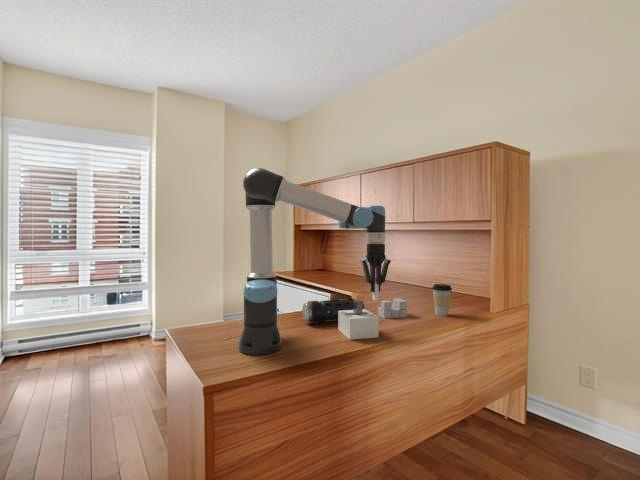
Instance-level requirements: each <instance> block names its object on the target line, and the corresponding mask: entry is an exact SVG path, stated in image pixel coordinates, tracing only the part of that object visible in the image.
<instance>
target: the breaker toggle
mask: <svg viewBox="0 0 640 480" xmlns="http://www.w3.org/2000/svg"><path fill="white" fill-rule="evenodd" d="M351 299H353V312H355V313H356V314H362V301H363V302H364V301H365V295H364V294H362V293H360V292H352V293H351Z"/></svg>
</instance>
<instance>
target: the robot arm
mask: <svg viewBox="0 0 640 480" xmlns="http://www.w3.org/2000/svg"><path fill="white" fill-rule="evenodd" d="M242 184H243V185H242V186H243V190H244V193H245V208H246V209H247V210H248V211H249V241H250V242H249V246H250V247H249V249H250V251H249V252H250V272H249V273H248V274H247V275H246V283H245V284H244V287H243V292H242V294H243V328H242V331H241V334H240V338H239V340H238V350H239V352H241V353H242V354H245V355H252V356H258V355H259V356H261V355H268V354H272V353H276V352H279V350H281V349H282V347H283V341H282V336H281V333H280V331H279V327H278V291H279V290H278V285H277V281H278V280H277V274H276V273H275V272H274V271H273V210H274V209H275V208H276V203H278V202H282V203H285V204H287V205H291V206H293V207H297V208H300V209H302V210H306V211H308V212H311V213H314V214H316V215H320V216H323V217H325V218H329V219H332V220H334V221H337V224H338V227H339V228H340V229H344V230H345V229H346V230H348V229H350V230H351V229H355V230H356V229H360V230H361V229H362V230H364V229H366V243H367V244H366V254H365V258H363V259H361V260H360V263H361V265H362V268H363V273H364V278H365V282H366V283H368V284H370V292H371V293H372V294H371V295H372V297H371V298H372V300H373V301H379V295H380V294H379V293H380V292H381V285H383V283H385V282H386V278H387V274H388V269H389V266H390V264H391V261H392V260H391V259H388V258H387V257H386V254H385V253H386V244H385V242H386V208H385V206H383V205H368V206H367V207H365V206H358V205H355V204H352V203H349V202H347V201H345V200H341V199H338V198H335V197H333V196H331V195H328V194H324V193H322V192H318V191H317V190H313V189H310V188H307V187H306V186H305V187H304V186H303V185H299V184H297V183H294V182H291V181H288V180H287V179H286V178H285V176H282V175H280V174H277V173H275V172H273V171H270V170H268V169H265V168H259V167H258V168H253V169H250V170H249V171H248V172H247V173H246V174H245V175H244V178H243V181H242ZM368 263H369V265H368ZM382 264H383V265H382ZM369 268H370V270H369Z"/></svg>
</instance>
